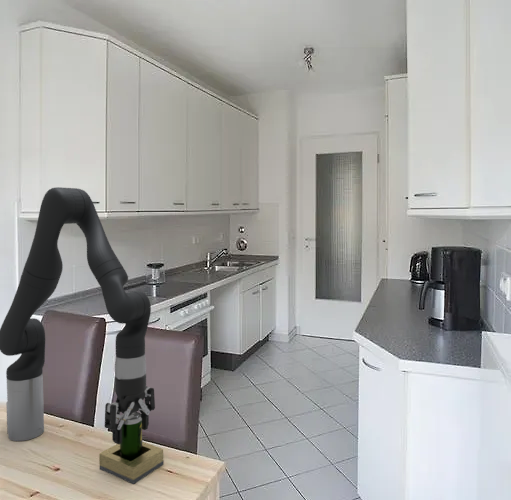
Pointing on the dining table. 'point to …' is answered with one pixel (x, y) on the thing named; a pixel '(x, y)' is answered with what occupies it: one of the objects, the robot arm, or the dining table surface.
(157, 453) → the socket block
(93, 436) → the dining table surface
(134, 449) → the beer can
